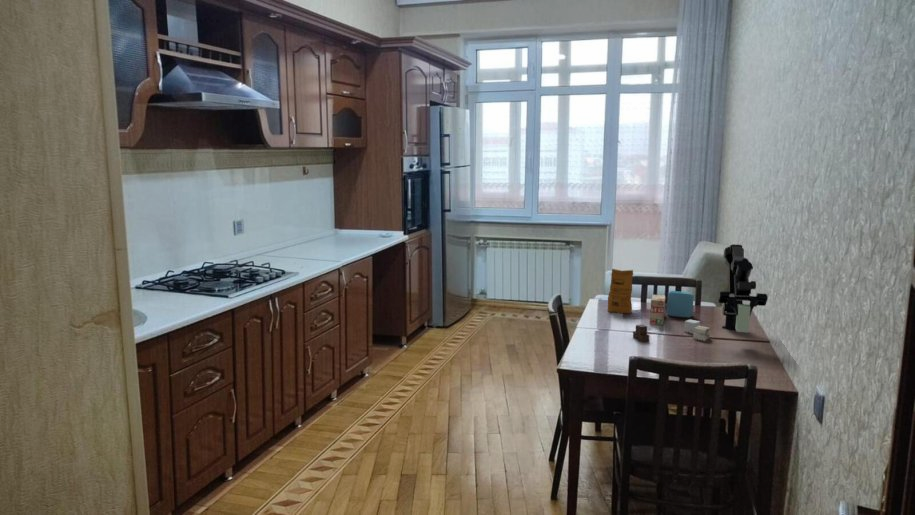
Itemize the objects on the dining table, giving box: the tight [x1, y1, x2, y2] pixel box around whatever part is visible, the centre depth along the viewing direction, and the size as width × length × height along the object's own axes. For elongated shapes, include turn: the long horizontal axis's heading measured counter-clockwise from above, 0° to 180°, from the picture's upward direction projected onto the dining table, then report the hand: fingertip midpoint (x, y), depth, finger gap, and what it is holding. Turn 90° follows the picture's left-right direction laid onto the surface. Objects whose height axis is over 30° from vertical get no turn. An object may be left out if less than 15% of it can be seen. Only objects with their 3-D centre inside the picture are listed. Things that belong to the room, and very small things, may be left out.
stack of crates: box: [632, 324, 650, 343], centre depth 281 cm, size 15×15×7 cm
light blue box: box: [666, 290, 695, 319], centre depth 323 cm, size 12×4×12 cm, turn 66°
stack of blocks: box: [649, 294, 666, 326], centre depth 314 cm, size 21×6×12 cm, turn 161°
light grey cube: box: [683, 319, 701, 335], centre depth 293 cm, size 5×5×5 cm
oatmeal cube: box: [692, 325, 711, 342], centre depth 282 cm, size 5×5×5 cm
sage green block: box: [735, 303, 751, 333], centre depth 271 cm, size 4×4×11 cm
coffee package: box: [607, 268, 634, 314], centre depth 330 cm, size 10×12×22 cm
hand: (743, 315), depth 269 cm, fingers closed on sage green block, 4 cm apart
